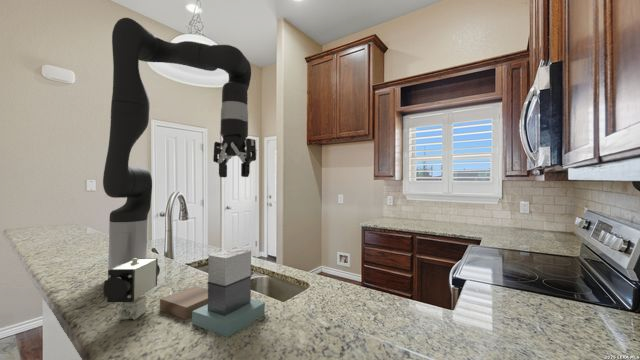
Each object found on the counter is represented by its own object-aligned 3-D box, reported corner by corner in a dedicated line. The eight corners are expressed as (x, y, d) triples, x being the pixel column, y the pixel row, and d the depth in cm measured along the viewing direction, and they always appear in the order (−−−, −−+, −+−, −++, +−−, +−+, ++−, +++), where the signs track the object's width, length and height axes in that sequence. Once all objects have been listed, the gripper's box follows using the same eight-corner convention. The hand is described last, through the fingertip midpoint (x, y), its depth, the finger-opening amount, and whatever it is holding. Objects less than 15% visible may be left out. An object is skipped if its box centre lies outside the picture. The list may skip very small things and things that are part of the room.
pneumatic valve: (160, 304, 63) (161, 252, 63) (126, 330, 51) (128, 266, 51) (135, 304, 62) (136, 252, 63) (95, 331, 51) (98, 266, 51)
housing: (206, 310, 54) (207, 255, 54) (234, 298, 60) (234, 248, 60) (224, 316, 51) (225, 258, 52) (251, 302, 58) (251, 250, 58)
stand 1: (159, 310, 59) (160, 298, 60) (195, 296, 67) (196, 286, 67) (186, 319, 55) (186, 307, 55) (221, 303, 63) (221, 292, 63)
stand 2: (191, 323, 54) (192, 311, 54) (230, 304, 62) (230, 293, 62) (228, 337, 49) (228, 323, 49) (264, 314, 58) (264, 302, 58)
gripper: (206, 120, 78) (205, 177, 77) (243, 114, 71) (242, 176, 70) (227, 125, 84) (226, 178, 84) (262, 120, 77) (262, 177, 77)
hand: (233, 177), depth 77 cm, fingers open, 8 cm apart
